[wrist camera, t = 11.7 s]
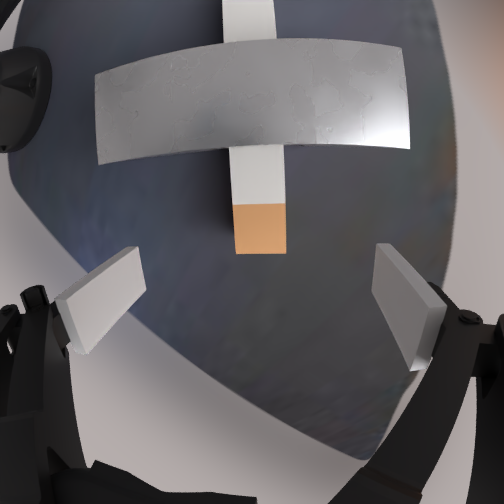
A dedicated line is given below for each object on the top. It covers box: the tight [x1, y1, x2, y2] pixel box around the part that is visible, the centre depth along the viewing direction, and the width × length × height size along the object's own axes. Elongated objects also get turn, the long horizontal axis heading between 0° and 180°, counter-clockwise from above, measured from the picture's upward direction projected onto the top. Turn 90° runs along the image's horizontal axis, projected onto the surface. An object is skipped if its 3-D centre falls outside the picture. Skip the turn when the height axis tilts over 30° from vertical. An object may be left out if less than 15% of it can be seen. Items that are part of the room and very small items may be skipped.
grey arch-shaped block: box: [95, 38, 410, 165], centre depth 18 cm, size 6×18×12 cm, turn 93°
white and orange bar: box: [222, 0, 286, 254], centre depth 21 cm, size 24×4×5 cm, turn 3°
